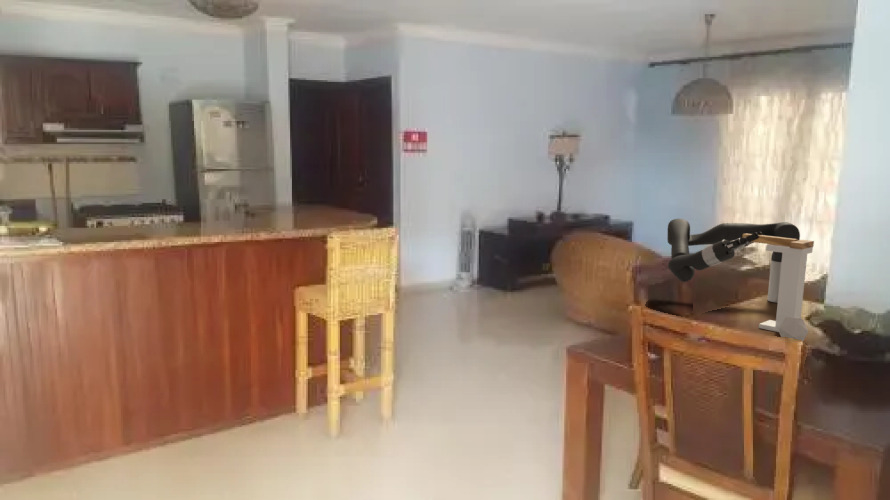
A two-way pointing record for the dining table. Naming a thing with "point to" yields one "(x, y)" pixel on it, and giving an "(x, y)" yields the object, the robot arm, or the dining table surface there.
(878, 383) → the dining table surface
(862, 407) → the dining table surface
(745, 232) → the robot arm
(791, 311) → the i beam
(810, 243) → the t bar
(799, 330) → the die
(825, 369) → the dining table surface
